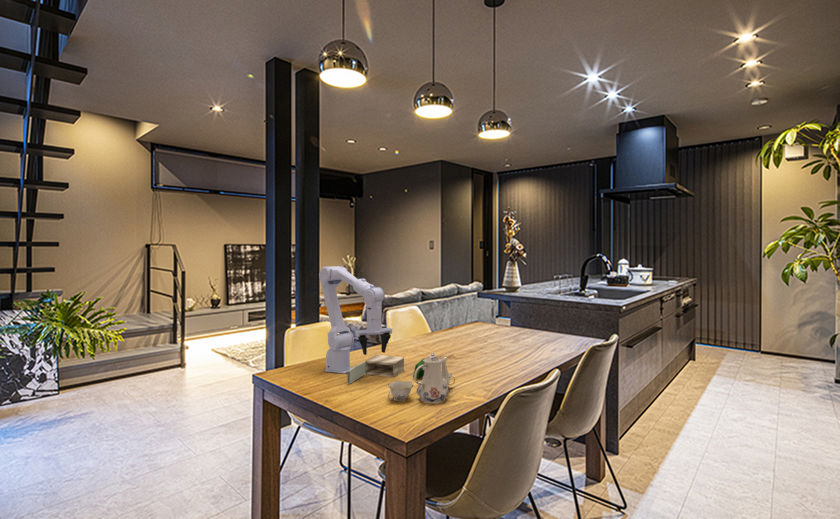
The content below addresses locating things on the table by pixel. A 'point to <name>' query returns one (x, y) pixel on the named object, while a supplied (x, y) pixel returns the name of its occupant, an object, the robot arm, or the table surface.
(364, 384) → the table surface
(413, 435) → the table surface
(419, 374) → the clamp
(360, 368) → the door
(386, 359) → the cabinet
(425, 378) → the chinaware
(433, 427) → the table surface
